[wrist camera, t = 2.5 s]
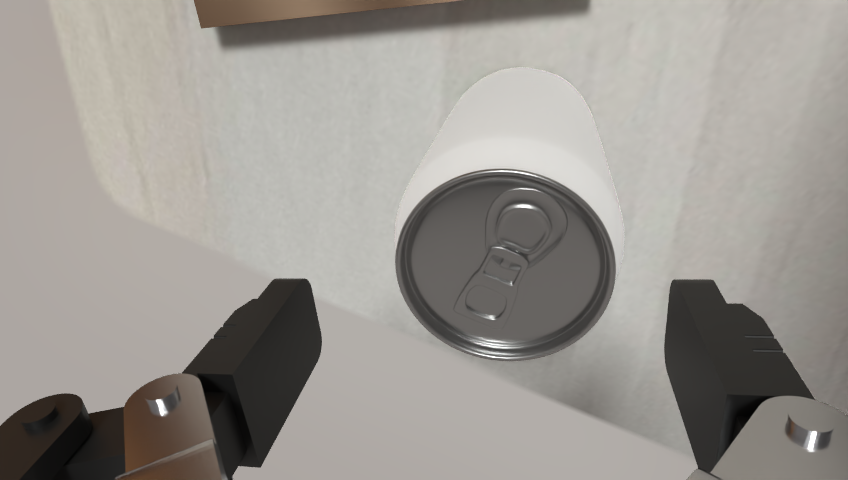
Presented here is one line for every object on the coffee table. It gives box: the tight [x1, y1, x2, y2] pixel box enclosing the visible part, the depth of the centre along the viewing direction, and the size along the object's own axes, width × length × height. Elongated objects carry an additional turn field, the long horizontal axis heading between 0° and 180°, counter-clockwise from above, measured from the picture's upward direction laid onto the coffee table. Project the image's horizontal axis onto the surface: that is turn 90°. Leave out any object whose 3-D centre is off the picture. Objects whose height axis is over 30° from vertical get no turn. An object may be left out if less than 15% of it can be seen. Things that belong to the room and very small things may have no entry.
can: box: [395, 67, 625, 361], centre depth 20 cm, size 6×6×12 cm
